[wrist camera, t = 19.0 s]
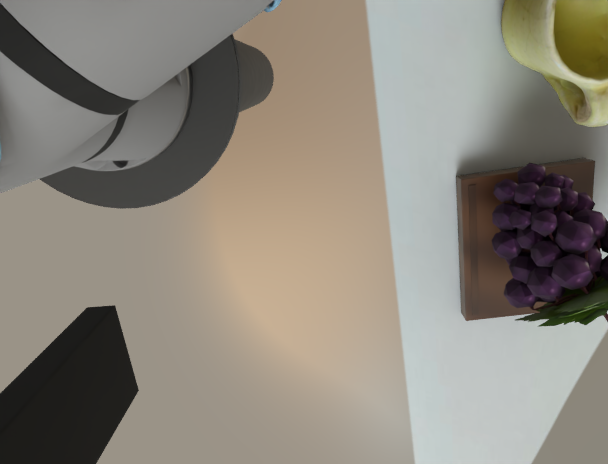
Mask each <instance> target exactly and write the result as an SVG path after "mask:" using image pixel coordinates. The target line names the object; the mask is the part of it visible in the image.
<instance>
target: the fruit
mask: <svg viewBox="0 0 608 464" xmlns="http://www.w3.org/2000/svg"><path fill="white" fill-rule="evenodd" d="M517 173H518V184H516V183H515V182H514V181H513V180H510V179H504V180H502V181H501V182H499V183H497V184H496V185H495V187H494V192H493V194H494V195H495V196H496V197H497V199H499V200H500V201H501V202H506V201H511V204H510V203H502V204H500V205H498V206H496V208H495V210H494V211H493V213H492V222H493V224H494V225H496V226H497V227H498V228H499V229H500V230H501V232H499V233H496V234H495V235H494V237H493V239H492V245H493V250H494V251H495V252H496V253H497V255H498V256H499V257H500V258H504V259H505V260H506V262H507V263H508V265H509V269H510V271H511V274H512V276H513V278H512V279H511V280H509V281H508V282H507V284H506V285H505V290H504V296H505V297H506V298H507V300H508V301H509V303H510V304H511V305H512V306H514V307H516V308H523V307H530V308H531V309H532V310H536V311H538V312H540V313H535V314H532V315H529V316H525V317H524V318H520V319H516V320H524V321H526V320H529V321H536V320H540V319H549V320H548V321H546V322H545V323H543V324H541V325H539V326H555V325H559V324H562V323H564V325H565V324H567V323H569V322H573V321H575V322H579V323H581V324H584V325H587V324H588V323H590V322H592V321H593V320H594V319H596V318H597V317H599V316H601V315H603V316H604V317H605V318H606V320H607V322H608V314H607V310H608V256H606V257H605V258H604V259H603V260H602V258H601V256H602V254H601V252H600V248H601V249H602V251H604V252H607V253H608V221H607V220H606V218H605V217H604V216H603V214H602V213H600V212H596V211H593V210H592V209H593V207H594V205H595V203H594V202H593V201H592V199H591V198H590V197H589V195H588V194H587V193H586V192H582V193H577V192H575V191H574V190H572V186H573V183H574V181H573V180H571V179H570V178H568V177H567V176H566V175H559V174H556V173H553V172H552V173H551V174H549V175H548V176H546V172H545V167H544V166H540V165H536V164H533V163H529V164H528V165H526V166H525V167H523V168H522V169H520V170H519V171H518V172H517ZM544 182H545V186H542V185H543V184H544ZM541 186H542V187H541ZM539 187H541V188H539ZM536 302H547V304H544V306H541V307H539V308H536V309H534V307H533V306H534V305H535V303H536ZM530 319H531V320H530ZM516 320H515V321H516ZM529 321H528V322H529ZM575 322H574V323H575Z"/></svg>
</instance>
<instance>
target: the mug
mask: <svg viewBox="0 0 608 464" xmlns="http://www.w3.org/2000/svg"><path fill="white" fill-rule="evenodd" d="M501 27H502V35H503V39H504V42H505V46H506V48H507V50H508V52H509V53H510V55H511V56H512V57H513V58H514V59H515V60H516V61H517V62H519V63H520V64H521V65H524V66H526V67H529V68H530V69H532V70H534V71H537V72H539V73H541V74H542V75H543V76H544V78H545V79H546V80H547V81H548V82H549V83H550V84H551V86H552V87H553V88H554V90H555V91H556V92H557V93H558V96H559V100H560V102H561V103H562V105H563V106H564V108H565V109H566V110H567V111H568V112H569V114H570V117H571V118H572V119H573V120H574V122H575V123H577V124H580V125H584V126H589V127H598V126H604V125H608V0H505V2H504V6H503V10H502V20H501Z"/></svg>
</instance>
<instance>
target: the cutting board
mask: <svg viewBox="0 0 608 464" xmlns="http://www.w3.org/2000/svg"><path fill="white" fill-rule="evenodd" d="M539 165H540V166H544V167H545V172H546V176H548V175H549V174H551V173H552V172H553V173H556V174H559V175H566V176H567V177H568V178H570V179H571V180H573V181H574V183H573V186H572V190H574V191H575V192H577V193H582V192H586V193H587V194H588V195H589V197H590V198H591V199H592V198H593V184H594V169H595V161H593V160H590V159H586V158H582V159H574V160H567V161H560V162H553V163H546V164H539ZM524 167H525V166H524ZM522 168H523V167H517V168H510V169H503V170H496V171H489V172H481V173H474V174H467V175H460V176H456V185H457V211H458V236H459V262H460V288H461V313H462V315H463V316H464V318H465V320H466V321H469V320H478V319H487V318H496V317H505V316H514V315H523V314H532V313H540V312H538V311H536V310H532V309H531V308H530V307H523V308H516V307H514V306H512V305H511V304H510V303H509V301H508V300H507V298H506V297H505V296H504V290H505V285H506V284H507V282H508V281H509V280H511V279H512V278H513V276H512V274H511V271H510V269H509V265H508V263H507V262H506V260H505V259H504V258H500V257H499V256H498V255H497V253H496V252H495V251H494V250H493V245H492V239H493V237H494V235H495V234H496V233H499V232H501V230H500V229H499V228H498V227H497V226H496V225H494V224H493V222H492V213H493V211H494V210H495V208H496V206H498V205H500V204H502V203H510V204H511V201H506V202H501V201H500V200H499V199H497V197H496V196H495V195H494V194H493V192H494V187H495V185H496V184H497V183H499V182H501V181H502V180H504V179H510V180H513V181H514V182H515V183H516V184H518V173H517V172H518V171H519V170H520V169H522ZM542 186H545V182H544V184H543V185H542ZM542 186H541V187H542ZM541 187H539V188H541ZM544 304H547V302H536V303H535V305H534V306H533V307H534V309H536V308H539V307H541V306H544Z"/></svg>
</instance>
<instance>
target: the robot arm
mask: <svg viewBox="0 0 608 464" xmlns="http://www.w3.org/2000/svg"><path fill="white" fill-rule="evenodd" d="M280 2H281V0H0V193H2V192H5V191H8V190H10V189H13V188H15V187H18V186H21V185H24V184H27V183H29V182H32V181H35V180H37V179H40V178H43V177H46V176H48V175H51V174H54V173H56V172H59V171H62V170H64V169H67V168H70V167H73V166H75V167H80V168H85V169H89V170H96V171H117V170H124V169H129V168H133V167H136V166H139V165H142V164H144V163H146V162H148V161H150V160H152V159H154V158H156V157H157V156H159V155H160V154H162V153H163V152H164V151H165V150H167V149H168V148H169V147H170V146H171V145H172V144H173V143H174V141H175V140H176V139H177V137H178V136H179V135H180V133H181V131H182V129H183V128H184V126H185V123H186V121H187V119H188V116H189V112H190V109H191V104H192V96H193V77H192V70H191V64H192V63H193V62H194V61H196V60H197V59H198V58H200V57H201V56H202V55H204V54H205V53H206V52H208V51H209V50H211V49H212V48H213V47H215V46H216V45H217V44H219V43H220V42H221V41H223V40H224V39H225V38H227V37H228V36H230V35H231V34H232V33H233V32H235V31H236V30H237V29H239V28H240V27H242V26H243V25H244V24H246V23H247V22H248V21H250V20H251V19H253V18H254V17H255V16H257V15H258V14H259V13H261V12H262V11H263V10H264V11H266V12H270V11H272V10H274V9H275V8H276V7H277V6H278V5H279V3H280ZM138 391H139V390H138V386H137V383H136V380H135V376H134V372H133V368H132V365H131V362H130V358H129V354H128V351H127V347H126V343H125V340H124V336H123V332H122V329H121V326H120V322H119V318H118V315H117V311H116V308H115V306H102V307H88V308H86V309H85V310H84V311H83V312H82V313H81V314H80V315H79V316H78V317H77V318H76V319H75V320H74V321H73V322H72V323H71V324H70V325H69V326H68V327H67V328H66V329H65V330H64V331H63V332H62V333H61V334H60V335H59V336H58V337H57V338H56V339H55V340H54V341H53V342H52V343H51V344H50V345H49V346H48V347H47V348H46V349H45V350H44V351H43V352H42V353H41V354H40V355H39V356H38V357H37V358H36V359H35V360H34V361H33V362H32V363H31V364H30V365H29V366H28V367H27V368H26V369H25V370H24V371H23V372H22V373H21V374H20V375H19V376H18V377H17V378H16V379H14V381H12V382H11V384H9V385H8V386H7V387H6V388H5V389H4V391H2V392H1V393H0V464H96V463H97V461H98V459H99V458H100V456H101V454H102V453H103V451H104V449H105V447H106V446H107V444H108V442H109V440H110V439H111V437H112V435H113V433H114V432H115V430H116V428H117V427H118V425H119V423H120V422H121V420H122V418H123V416H124V415H125V413H126V411H127V409H128V408H129V406H130V404H131V403H132V401H133V399H134V397H135V396H136V394H137V392H138Z"/></svg>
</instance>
